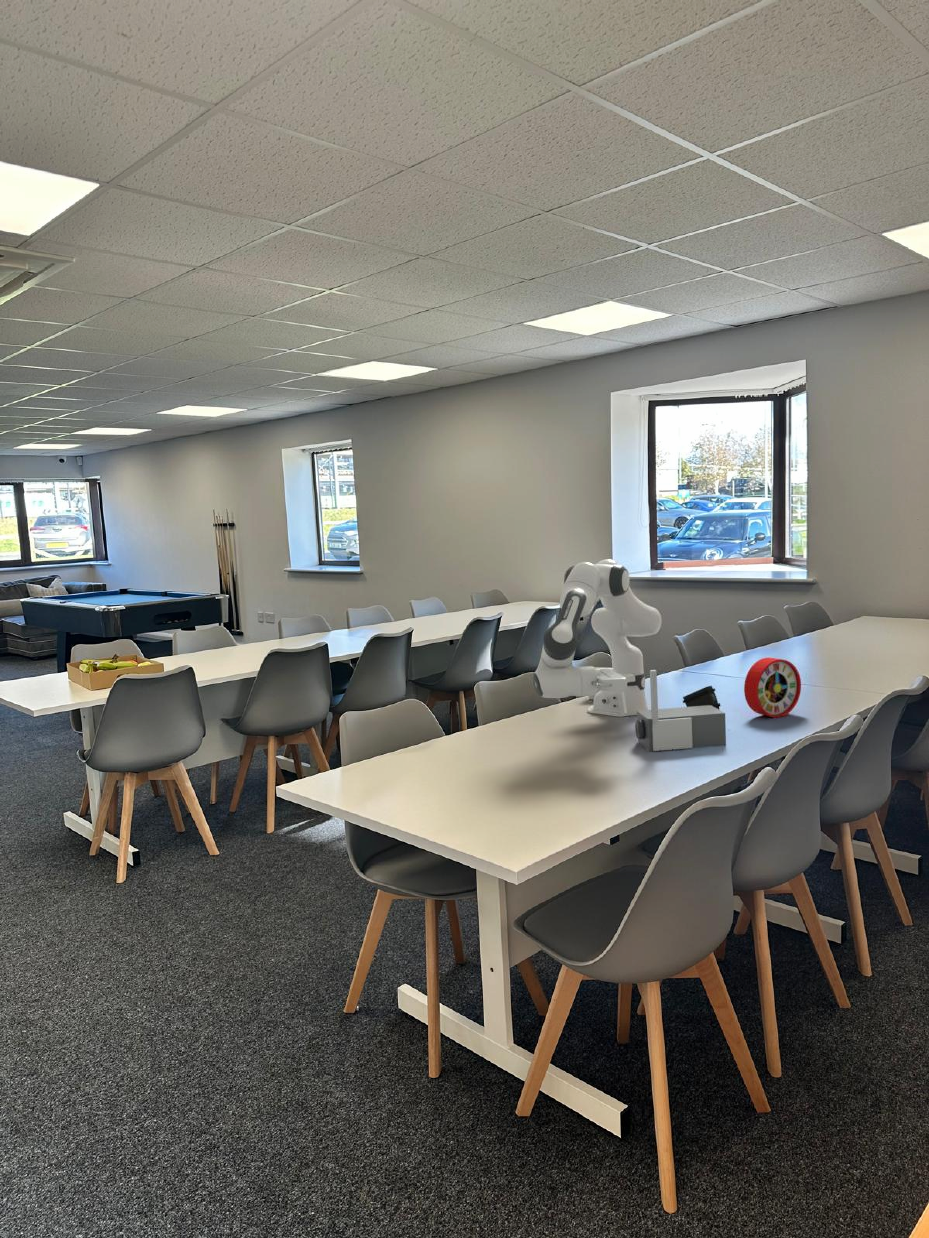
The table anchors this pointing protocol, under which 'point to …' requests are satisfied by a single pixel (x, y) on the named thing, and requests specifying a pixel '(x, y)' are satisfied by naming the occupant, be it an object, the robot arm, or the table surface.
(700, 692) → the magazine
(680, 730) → the door
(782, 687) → the toy clock
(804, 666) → the table surface
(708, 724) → the camera housing
